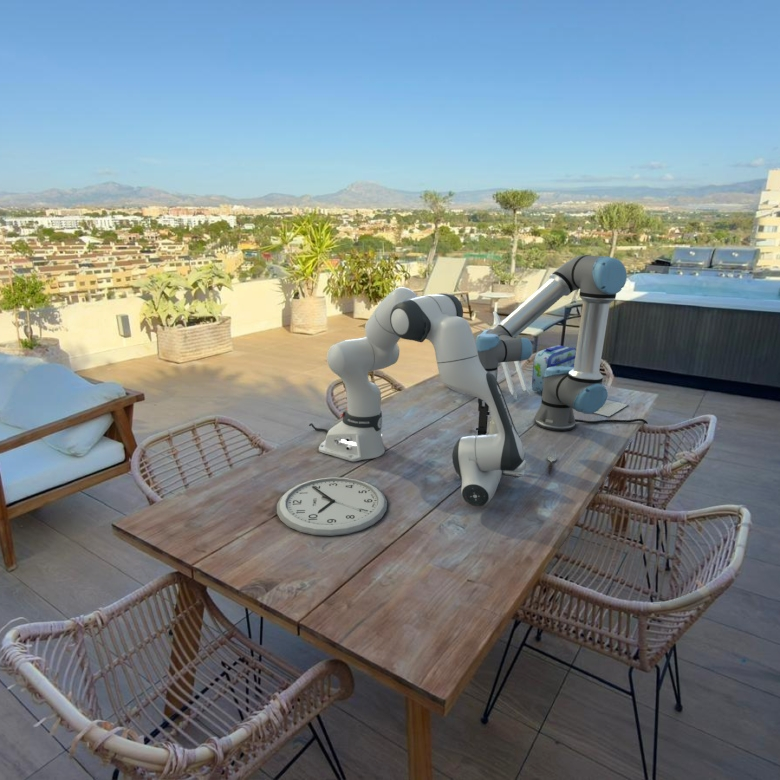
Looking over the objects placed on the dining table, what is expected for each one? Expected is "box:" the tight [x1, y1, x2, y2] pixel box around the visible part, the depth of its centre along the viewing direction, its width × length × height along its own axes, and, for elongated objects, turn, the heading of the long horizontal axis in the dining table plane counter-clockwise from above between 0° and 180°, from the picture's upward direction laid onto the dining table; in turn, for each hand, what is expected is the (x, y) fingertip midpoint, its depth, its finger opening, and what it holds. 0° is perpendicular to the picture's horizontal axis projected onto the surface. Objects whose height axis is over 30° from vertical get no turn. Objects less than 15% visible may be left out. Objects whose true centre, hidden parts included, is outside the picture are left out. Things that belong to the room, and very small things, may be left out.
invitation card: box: [593, 399, 629, 418], centre depth 226 cm, size 21×1×15 cm
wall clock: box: [276, 476, 388, 537], centre depth 142 cm, size 30×2×30 cm
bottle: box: [488, 415, 498, 434], centre depth 160 cm, size 5×5×19 cm
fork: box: [547, 449, 557, 475], centre depth 169 cm, size 3×16×2 cm, turn 160°
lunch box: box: [531, 345, 577, 393], centre depth 245 cm, size 26×11×21 cm, turn 134°
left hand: (495, 452), depth 162 cm, fingers closed on bottle, 4 cm apart
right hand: (481, 440), depth 180 cm, fingers open, 13 cm apart
